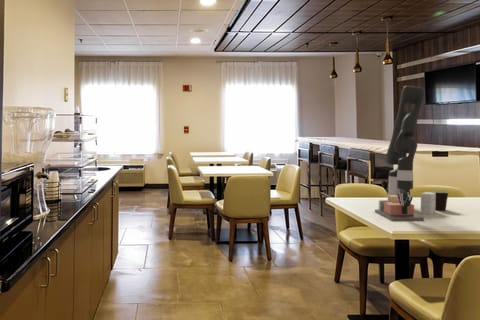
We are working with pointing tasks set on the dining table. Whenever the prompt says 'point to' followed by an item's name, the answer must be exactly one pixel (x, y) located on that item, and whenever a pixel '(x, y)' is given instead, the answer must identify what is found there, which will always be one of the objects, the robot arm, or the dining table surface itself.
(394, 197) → the maple block
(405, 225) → the dining table surface
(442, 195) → the coffee mug
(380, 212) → the vise
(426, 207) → the small box
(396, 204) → the sliding jaw
